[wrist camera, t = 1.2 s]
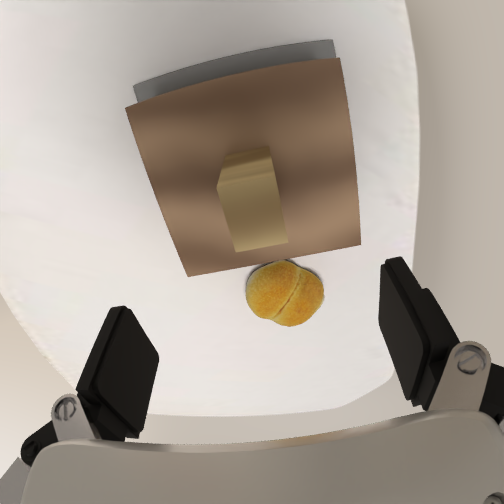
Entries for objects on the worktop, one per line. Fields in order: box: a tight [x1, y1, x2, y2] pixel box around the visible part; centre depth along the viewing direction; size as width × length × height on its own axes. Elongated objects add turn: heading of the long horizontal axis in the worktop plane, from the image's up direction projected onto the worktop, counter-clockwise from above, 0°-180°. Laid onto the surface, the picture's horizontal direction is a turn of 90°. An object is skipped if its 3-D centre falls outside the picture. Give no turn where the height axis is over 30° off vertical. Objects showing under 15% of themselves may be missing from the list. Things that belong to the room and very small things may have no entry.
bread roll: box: [246, 260, 324, 327], centre depth 36 cm, size 8×9×4 cm
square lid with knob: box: [125, 58, 361, 277], centre depth 22 cm, size 15×15×13 cm
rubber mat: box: [133, 40, 336, 103], centre depth 28 cm, size 18×18×1 cm
